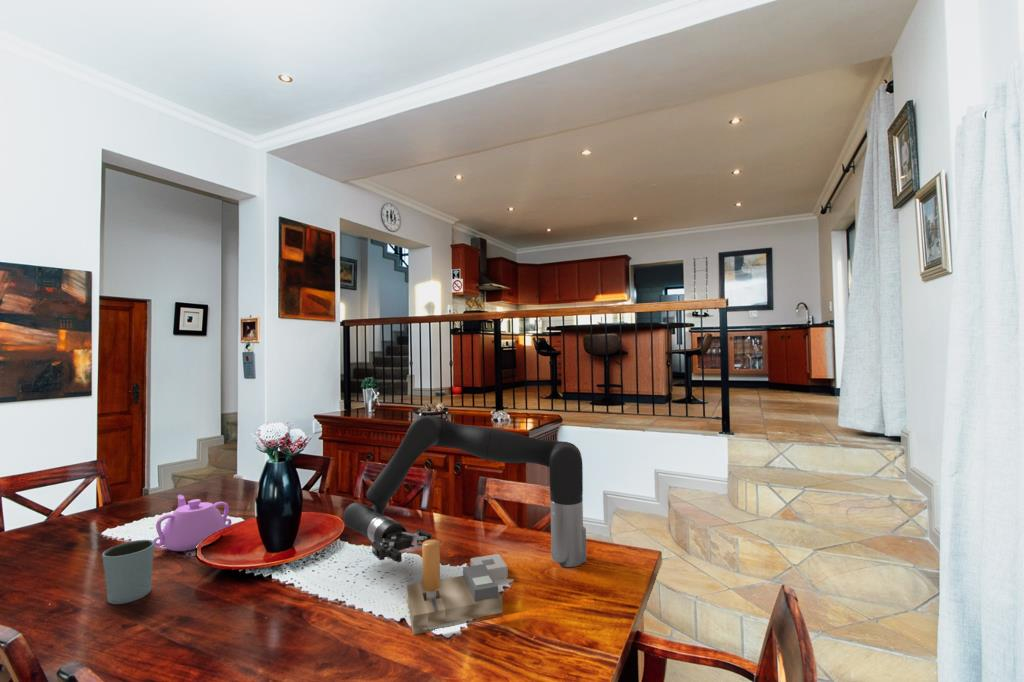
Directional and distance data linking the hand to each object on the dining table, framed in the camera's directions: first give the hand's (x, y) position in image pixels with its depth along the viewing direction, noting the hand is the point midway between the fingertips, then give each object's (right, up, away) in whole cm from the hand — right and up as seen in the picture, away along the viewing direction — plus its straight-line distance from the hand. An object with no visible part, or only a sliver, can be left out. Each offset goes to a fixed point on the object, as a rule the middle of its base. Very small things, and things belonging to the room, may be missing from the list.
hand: (416, 553), depth 113 cm
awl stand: (+17, -12, +11) cm, 24 cm away
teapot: (-81, -14, +38) cm, 90 cm away
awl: (+5, -10, -5) cm, 13 cm away
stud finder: (+15, -7, -2) cm, 17 cm away
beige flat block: (+9, -11, -4) cm, 15 cm away
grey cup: (-73, -13, +4) cm, 75 cm away
